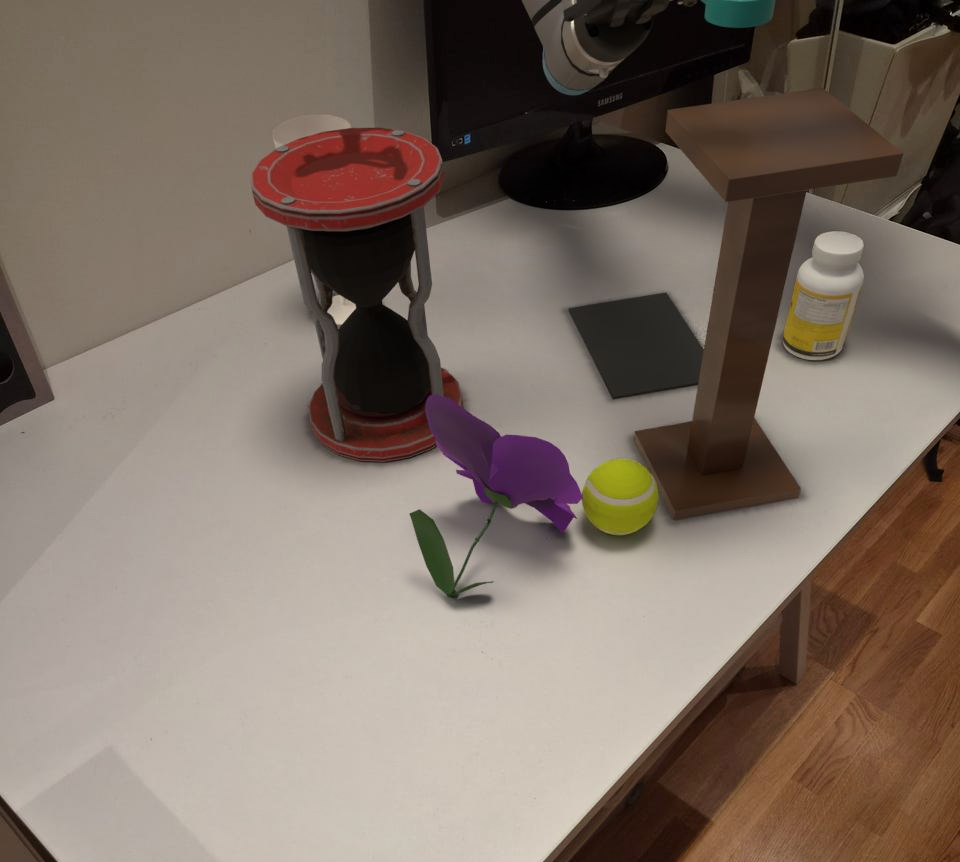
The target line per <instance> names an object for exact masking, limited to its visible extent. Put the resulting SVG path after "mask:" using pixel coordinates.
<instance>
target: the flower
mask: <svg viewBox="0 0 960 862" xmlns="http://www.w3.org/2000/svg"><path fill="white" fill-rule="evenodd" d="M425 411H426V416H427V420H428V424H429V427H430V431H431V432H432V434H433V435H434V437H435V439H436V447H437V448H438V449H439V451H440V452H441V453H442V455H443V456H444V457H446V458H447V459H449V460H450V461H451V462H452V463H454V464H456V465H457V466H458V467H459V468H461V469H455V471H456V474H457V475H459V476H461V477H463V478H464V477H465V478H467V479H470V480H472V483H473V487H474V492H475V494H476V496H477V497H478V499H479V500H480V502H481V503H488V504H493V507H492V509H491V510H490V511H491V512H490V514H489V516H488V518H487V520H486V521H487V522H486V524H485V526H484V527H483V528H482V530H481V532H480V533H479V534H478V535H477V537H475V538H474V542H473V543H472V544H471V546H470V548H469V550H468V552H467V555H466V558H465V560H464V561H463V564H462V567H461V569H460V570H459V571H460V572H459V573H458V575H457V577H456V579H455V573H454V566H453V563H452V560H451V557H450V554H449V551H448V547H447V545H446V542H445V539H444V537H443V535H442V534H441V532H440V530H439V528H438V525H437V523H436V522H435V520H434V519H433V518H431V517H430V516H429V515H428V514H427V513H425V512H424V511H423V510H421V509H417V510H414V511H412V512H409V517H410V519H411V523H412V526H413V530H414V533H415V536H416V537H415V538H416V541H417V543H418V545H419V549H420V552H421V555H422V557H423V561H424V564H425V566H426V569H427V570H428V572H429V574H430V576H431V578H432V580H433V583H434V584H435V586H436V587H437V588H438V590H440V591H442V592H443V593H444V594H445V595H446V596H447V597H448V598H451V599H455V598H457V597H458V596H459V594H461V593H464V592H467V591H470V590H471V589H474V588H476V587H479V586H482V585H486V584H493V583H494V582H495V580H492V581H480V582H479V581H478V582H475V583H471V584H469V585H467V586H465V587H462V588H460V589H459V590H456V587H457V585H458V583H459V582H460V580H461V578H462V575H463V574H464V571H465V569H466V567H467V564H468V562H469V560H470V557H471V555H472V553H473V551H474V548H475V547H476V545H477V544H478V543H479V542H480V540H481V539H482V536H483V535H484V534H485V532H486V531H487V530H488V528H489V526H490V525H491V523H492V522H493V521H492V520H493V517H494V514H495V511H496V509H497V506H500V507H501V506H502V507H504V508H507V509H511V510H513V509H515V508H517V507H518V506H520V505H522V504H525V505H527V506H529V507H531V508H534V509H535V510H536V511H537V512H538V513H540V514H542V516H544V517H545V518H547V519H548V520H549V521H551V522H552V523H553V525H554V526H555V527H556V528H557V530H558V531H560V532H561V533H562V534H563V533H564V532H565V531H566V530H567V529H568V526H569V525H570V524H571V522H572V521H573V519H576V520H578V517H577V516H576V514H575V513H574V512H573V511H572V509H571V506H570V505H577V504H579V503H580V502H582V499H583V496H582V492H581V489H580V486H579V485H578V482H577V481H576V479H575V478H574V476H572V474H571V471H570V464H569V462H568V460H567V458H566V455H565V454H564V453H563V451H562V450H561V449H560V448H559V447H558V446H556V445H555V444H553V443H551V441H547V440H545V439H543V438H539V437H536V436H528V435H522V434H521V435H520V434H504V435H501V433H500V432H499V431H498V430H496V429H495V428H494V427H493V426H492V425H491V424H489V423H487V422H485V421H484V420H482V419H480V418H478V417H477V416H475V415H473V414H472V413H471V412H469V411H468V410H466V409H465V408H464V407H463V408H462V407H461V406H460V405H458V404H457V403H456V402H454V401H453V400H452V399H450V398H447V397H444V396H441V395H437V394H434V395H430V396H429V397H428V399H427V401H426V407H425Z"/></svg>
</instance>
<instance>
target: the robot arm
mask: <svg viewBox="0 0 960 862" xmlns="http://www.w3.org/2000/svg"><path fill="white" fill-rule="evenodd" d="M672 1H673V0H521V2H522V4H523V6H524V8H525V10H526V13H527V14H528V17H529V20H530V21H531V22H532V25H533V27H534V28H533V29H534V30H535V33H536V35H537V37H538V38H539V41H540V43H541V45H542V50H543V51H542V59H541V60H542V68H543V72H544V75H545V77H546V80H547V81H548V83H549V84H550V85H551V87H552V88H553V89H555V91H557V92H559V93H561V94H564V95H566V96H580V95H582V94H585V93H586V92H589V91H591V90H592V89H594V88H595V87H596V86H598V85H600V83H602V82H604V81H605V80H606V78H608V76H609V74H611V73H612V71H614V69H616V68H617V67H618V65H620V63H622V62H623V61H624V60H625V59H626V58H627V57H629V56H630V55H631V54H632V53H633V52H635V51H636V50H637V49H638V47H640V46H641V45H642V44H643V42H644V41H645V40H646V38H647V37H648V35H649V34H650V31H651V30H652V27H653V24H654V21H655V18H656V15H657V14H659V13H661V12H663V11H665V10H666V9H667V8H668V7H669V5H670V2H672ZM697 3H698V0H677V5H683V6H685V7H693V6H694V5H696V4H697Z"/></svg>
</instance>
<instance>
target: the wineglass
mask: <svg viewBox="0 0 960 862" xmlns="http://www.w3.org/2000/svg"><path fill="white" fill-rule="evenodd" d="M347 128H352V126H351V123H350V122H349V121H348V120H346V119H344V118H342V117H340V116H336V115H331V114H307V115H300V116H296V117H293V118H288V119H286V120H284V121H282V122H280V123H279V124H277V125H276V126H275V127H274V129H272V140H273V143H274V148H275V149H276V148H277V147H280V146H283V145H285V144H287V143H290V142H292V141H294V140H296V139H299V138H303V137H306V136H310V135H314V134H317V133H321V132H325V131H332V130H340V129H347ZM355 309H356V305H355V304H354V303H352V302H351V301H349V300H347V299H346V298H344V297H342V296H341V295H339V294H337V295H334V296H332V305H331V307H330V308H329V309H328V311H327V312H328V313H329V314H331V315H332V316H333V318H334V320H335V323H336V325H342V324H343V323H344V322H345V320H346V319H347V318H348V317H349V315H350V314H351V313H352V312H353V311H354V310H355Z"/></svg>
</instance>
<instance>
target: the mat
mask: <svg viewBox="0 0 960 862" xmlns="http://www.w3.org/2000/svg"><path fill="white" fill-rule="evenodd" d="M568 313H569V315H570V317H571V319H572V321H573V323H574V325H575V328H576V329H577V331H578V333H579V335H580V337H581V339H582V341H583V342H584V345H585V347H586V349H587V351H588V353H589V355H590V356H591V359H592V360H593V363H594V365H595V366H596V369H597V371H598V372H599V375H600V377H601V380H602V381H603V382H604V385H605V387H606V389H607V391H608V392H609V395H610V397H611V399H612V400H617V399H624V398H630V397H635V396H636V397H637V396H641V395H647V394H653V393H659V392H665V391H671V390H672V391H673V390H677V389H682V388H688V387H694V386H698V382H699V376H700V370H701V364H702V358H703V351H704V347H703V345H701V343H700V341H699V340H698V338H697V337H696V336H695V333H694V332H693V331H692V329H691V327H690V326H689V324H688V323H687V322H686V320H685V318H684V316H683V315H682V314H681V312H680V310H679V309H678V308H677V306H676V305H675V302H673V300H672V299H671V297H670V295H669V294H668V293H667V292H660V293H655V294H654V293H653V294H648V295H642V296H635V297H628V298H622V299H616V300H610V301H604V302H598V303H593V304H592V303H591V304H586V305H578V306H573V307H568Z"/></svg>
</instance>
